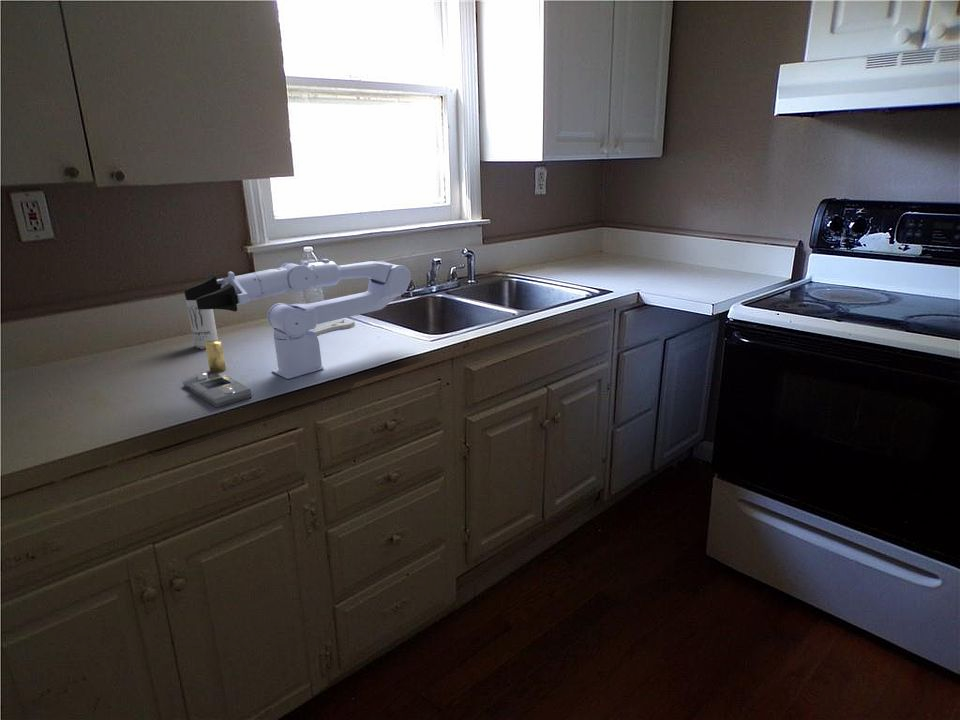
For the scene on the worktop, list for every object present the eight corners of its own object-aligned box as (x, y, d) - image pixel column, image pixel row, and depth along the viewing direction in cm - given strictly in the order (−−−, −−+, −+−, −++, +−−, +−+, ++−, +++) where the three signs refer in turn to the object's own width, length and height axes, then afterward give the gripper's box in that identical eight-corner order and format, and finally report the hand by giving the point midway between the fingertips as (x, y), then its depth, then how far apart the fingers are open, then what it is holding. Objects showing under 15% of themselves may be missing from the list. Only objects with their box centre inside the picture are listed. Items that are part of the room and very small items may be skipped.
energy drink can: (190, 349, 165) (180, 294, 160) (201, 342, 171) (191, 288, 166) (212, 349, 165) (202, 293, 160) (222, 342, 171) (213, 288, 166)
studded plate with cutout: (216, 377, 144) (215, 367, 143) (251, 397, 132) (249, 386, 131) (183, 386, 139) (181, 375, 138) (216, 407, 127) (214, 396, 126)
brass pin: (222, 366, 151) (217, 339, 149) (228, 370, 149) (223, 341, 147) (207, 370, 149) (202, 342, 147) (213, 374, 146) (208, 345, 144)
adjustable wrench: (281, 348, 166) (280, 342, 165) (269, 344, 170) (268, 337, 169) (358, 326, 183) (357, 321, 182) (345, 323, 187) (344, 317, 187)
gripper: (240, 261, 139) (176, 273, 131) (266, 274, 129) (198, 288, 121) (245, 291, 142) (183, 305, 134) (271, 307, 132) (206, 322, 124)
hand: (191, 299), depth 128 cm, fingers open, 7 cm apart
